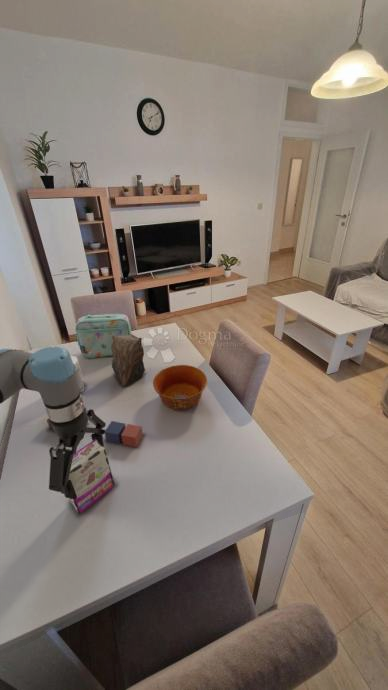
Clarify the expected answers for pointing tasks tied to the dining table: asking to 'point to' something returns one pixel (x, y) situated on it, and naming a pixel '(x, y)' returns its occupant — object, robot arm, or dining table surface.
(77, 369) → the supplement tub
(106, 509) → the dining table surface
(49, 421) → the block
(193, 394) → the bowl
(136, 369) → the brown rock
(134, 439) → the block
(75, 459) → the candy bar box
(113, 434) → the block
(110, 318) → the lunch box
